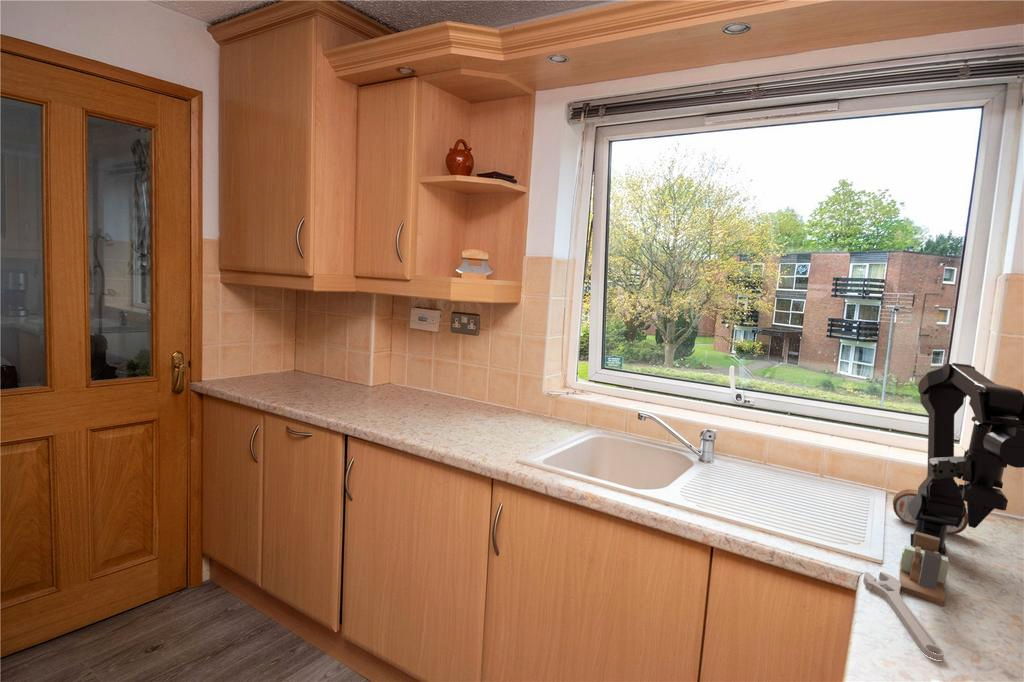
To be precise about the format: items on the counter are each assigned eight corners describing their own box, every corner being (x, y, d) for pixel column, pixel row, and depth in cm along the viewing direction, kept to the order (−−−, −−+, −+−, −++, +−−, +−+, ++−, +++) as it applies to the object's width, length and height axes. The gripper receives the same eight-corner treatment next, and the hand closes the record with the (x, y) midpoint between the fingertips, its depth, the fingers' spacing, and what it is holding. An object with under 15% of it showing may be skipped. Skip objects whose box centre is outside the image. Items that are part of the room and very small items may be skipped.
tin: (964, 535, 138) (971, 502, 136) (965, 540, 135) (972, 506, 134) (890, 515, 146) (896, 484, 145) (889, 520, 143) (895, 487, 142)
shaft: (918, 561, 112) (923, 532, 111) (933, 565, 110) (939, 536, 109) (918, 585, 103) (925, 553, 102) (935, 590, 101) (941, 558, 100)
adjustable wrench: (946, 666, 89) (948, 656, 89) (899, 654, 91) (901, 644, 91) (894, 583, 113) (896, 574, 113) (857, 575, 115) (859, 567, 115)
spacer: (899, 565, 117) (903, 544, 117) (944, 579, 113) (949, 557, 113) (899, 569, 116) (903, 548, 115) (945, 583, 112) (949, 561, 111)
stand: (900, 563, 121) (907, 527, 120) (941, 575, 117) (948, 538, 116) (899, 591, 110) (906, 552, 108) (944, 606, 106) (952, 565, 105)
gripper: (934, 431, 123) (921, 500, 125) (938, 451, 108) (922, 529, 110) (1002, 444, 117) (986, 516, 119) (1015, 467, 101) (997, 549, 104)
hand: (971, 526), depth 113 cm, fingers closed
